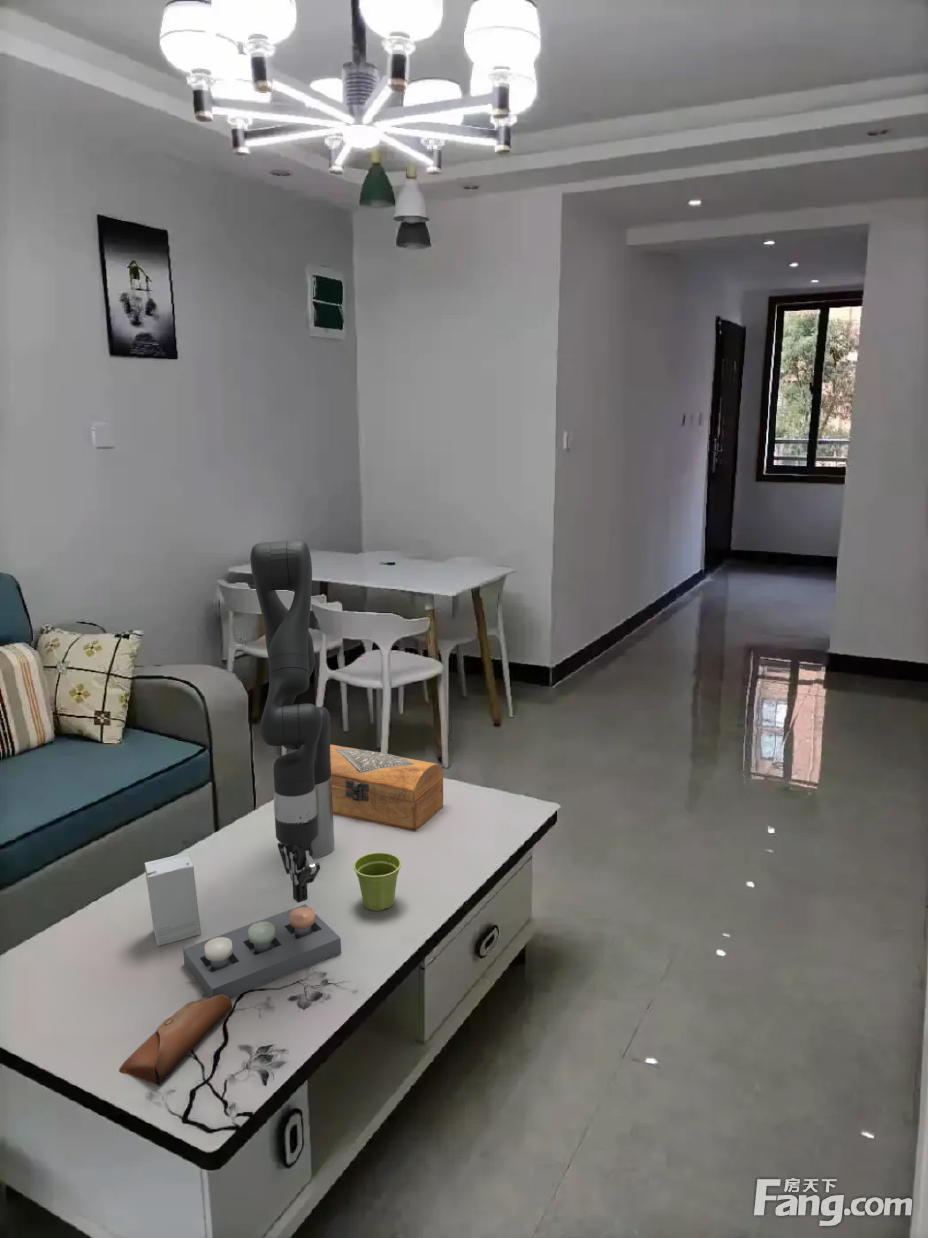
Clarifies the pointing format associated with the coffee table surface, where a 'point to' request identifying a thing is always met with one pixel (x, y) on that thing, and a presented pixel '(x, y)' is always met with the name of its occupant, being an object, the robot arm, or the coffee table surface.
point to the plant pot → (377, 879)
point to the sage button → (261, 936)
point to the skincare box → (173, 898)
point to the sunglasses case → (176, 1039)
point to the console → (261, 956)
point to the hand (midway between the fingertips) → (300, 899)
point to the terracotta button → (302, 921)
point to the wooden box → (384, 787)
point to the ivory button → (218, 952)
